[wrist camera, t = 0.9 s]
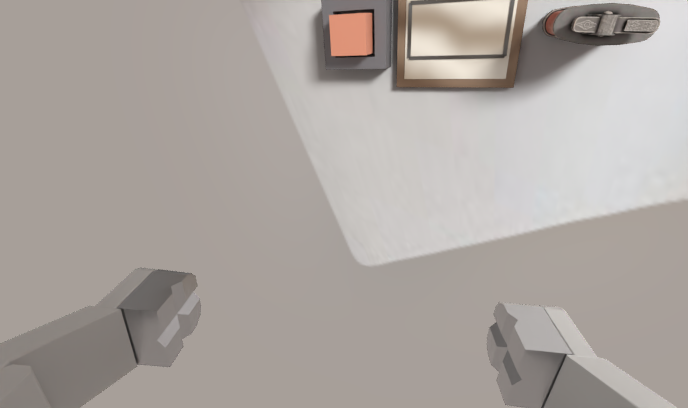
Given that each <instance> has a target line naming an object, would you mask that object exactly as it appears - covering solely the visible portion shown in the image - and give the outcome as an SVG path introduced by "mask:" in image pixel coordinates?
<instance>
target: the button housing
mask: <svg viewBox="0 0 688 408" xmlns="http://www.w3.org/2000/svg"><path fill="white" fill-rule="evenodd" d="M321 3H322V18H323V32H324V47H325V61H326V69H386V68H388V67H390V66H391V27H392V0H321ZM354 13H372V20H373V53H371V54H369V55H358V56H331V41H330V25H329V15H338V14H354Z"/></svg>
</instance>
